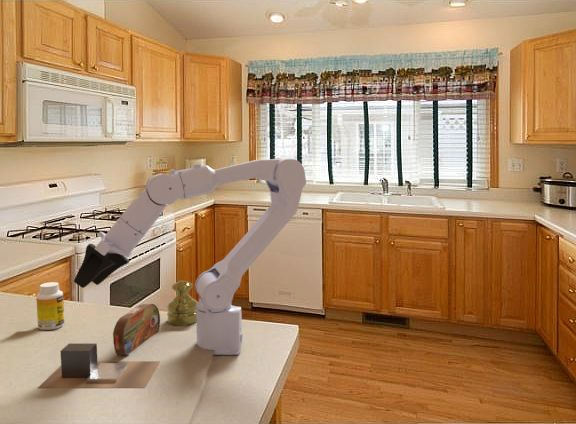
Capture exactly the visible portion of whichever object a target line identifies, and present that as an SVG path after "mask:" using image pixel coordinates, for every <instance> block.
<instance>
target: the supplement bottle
mask: <svg viewBox="0 0 576 424" xmlns="http://www.w3.org/2000/svg"><path fill="white" fill-rule="evenodd" d="M59 285H60V284H59V282H57V281H55V282H53V281H51V282H50V281H49V282H44V283H42V284H40V285H39V292H38V293H37V294H36V296H35V297H36V314H37V315H36V316H37V327H38V329H40V330H42V331H52V330H57V329H59V328H61V327H63V326H64V324H65V307H64V293H63V291H61V290H60V286H59Z"/></svg>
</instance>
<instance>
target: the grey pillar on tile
mask: <svg viewBox="0 0 576 424" xmlns="http://www.w3.org/2000/svg"><path fill="white" fill-rule="evenodd" d="M97 361H98V345H97V343H68V344H67V345H65V346H64V347H63V348H62V349H61V350H60V364H61V365H60V366H61V370H62V378H87V382H117V380H118V379H119V378H120V376H121V375H122V374H123V372H124V371H125V369H126V368H127V367H128V363H100V364H99V366H98V362H97Z"/></svg>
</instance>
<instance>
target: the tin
mask: <svg viewBox="0 0 576 424" xmlns="http://www.w3.org/2000/svg"><path fill="white" fill-rule="evenodd" d="M160 324H161V314H160V310H159V308H158V307H157V305H156V304H155V303H146V304H145V303H144V304H139V305H138V306H136V307H134V308H132V310H130V311H129V312H127V313H125V314H124V315H122V316H121V317H119V319H118V320H117V321H116V324H115V325H114V328H113V333H112V337H113V338H112V339H113V340H112V341H113V348H114V352H115V353H116V355H118V356H127V357H128V356H130V354H131V353H132V352H133V351H134V350H136V349H137V348H138V347H140V346H141V345H142V344H143V343H145V342H146V341H147V340H149V338H151V337H153V336H154V335H155V334H157V333H159V332H160V326H161V325H160Z"/></svg>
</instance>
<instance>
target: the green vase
mask: <svg viewBox="0 0 576 424" xmlns="http://www.w3.org/2000/svg"><path fill="white" fill-rule="evenodd" d="M193 285H194V284H193V283H192V282H189V281H186V280H183V279H182V280H178V282H174V283H173V284H171V289H172V290H174V291H175V293H176V295H175V297H173V298H172V299H171V300H170V301H169V302H167V304H166V308H167V313H166V314H167V323H168V324H170V325H173V326H188V325H192V324H194V323H197V315H196V305H197V303H198V302H199V301H197V299H194V298H193V297H192V296H191V295H190V294H189V292H190V290H191V289H193Z"/></svg>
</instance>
